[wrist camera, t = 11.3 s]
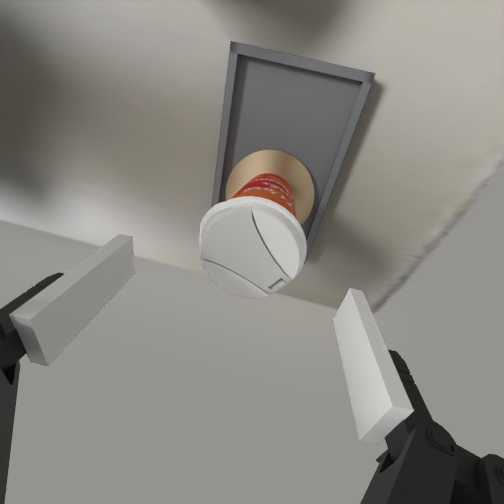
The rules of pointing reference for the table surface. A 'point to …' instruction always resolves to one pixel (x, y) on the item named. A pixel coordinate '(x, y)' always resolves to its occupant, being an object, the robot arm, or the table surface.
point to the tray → (289, 117)
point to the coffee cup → (253, 239)
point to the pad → (280, 166)
